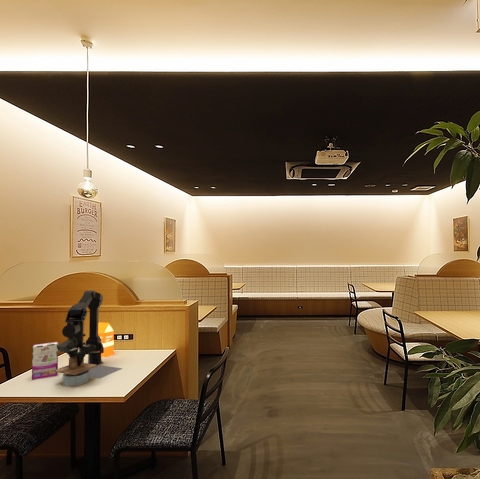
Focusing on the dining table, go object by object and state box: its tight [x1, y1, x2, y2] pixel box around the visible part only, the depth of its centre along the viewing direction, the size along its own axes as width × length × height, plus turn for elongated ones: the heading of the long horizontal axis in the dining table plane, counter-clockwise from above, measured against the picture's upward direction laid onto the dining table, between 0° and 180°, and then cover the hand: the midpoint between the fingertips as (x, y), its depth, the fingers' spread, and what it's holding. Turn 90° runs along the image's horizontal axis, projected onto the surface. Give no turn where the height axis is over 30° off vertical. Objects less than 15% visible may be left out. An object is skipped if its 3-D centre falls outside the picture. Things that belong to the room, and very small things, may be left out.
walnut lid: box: [54, 356, 98, 375], centre depth 156 cm, size 13×13×6 cm
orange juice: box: [98, 321, 115, 358], centre depth 201 cm, size 8×9×20 cm
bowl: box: [62, 370, 90, 387], centre depth 155 cm, size 11×11×4 cm
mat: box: [89, 364, 123, 379], centre depth 169 cm, size 16×16×1 cm
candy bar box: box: [31, 341, 59, 381], centre depth 164 cm, size 11×5×16 cm, turn 118°
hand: (76, 365), depth 156 cm, fingers closed on walnut lid, 3 cm apart
